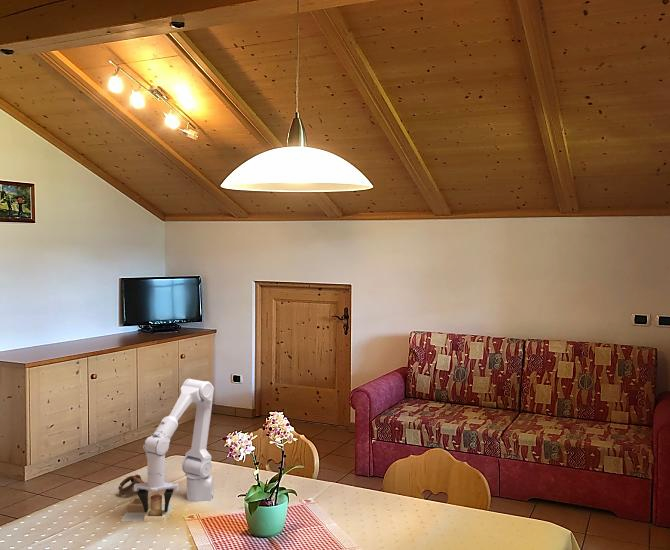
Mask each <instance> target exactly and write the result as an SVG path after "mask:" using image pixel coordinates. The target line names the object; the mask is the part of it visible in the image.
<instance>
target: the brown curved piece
mask: <svg viewBox="0 0 670 550" xmlns="http://www.w3.org/2000/svg"><path fill="white" fill-rule="evenodd" d="M128 482H130V484H129V485H127V486H125V485H126V484H127V483H128ZM138 483H145V482H144V481H143V479H142V477H141V475H140V474H135V475H129V476H127V477H126V478H124V479H123V480H122V481H121V482H120V483H119V486H118V487H117V488H118V490H119V491H118V493H119V494H118V495H119V496H127V495H129V494H130V495H133V490H134V485H135V484H138ZM124 486H125V487H124Z"/></svg>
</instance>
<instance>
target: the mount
mask: <svg viewBox="0 0 670 550" xmlns="http://www.w3.org/2000/svg"><path fill="white" fill-rule="evenodd" d="M174 507H175V504H173V503H169V506H168V511H167V512H165V511H164V509H165V503H164V504H163V503H162V516H151V496H150V497H149V496H148V511H147V512H144V507H143V504H142V502H141V500H140V498H139V496H138V497H132V498H131V499H130V501H129V503H128V504H127V511H125V513H124V515H123V516H122V518H121V519H120V522H167V520H168V518H169V516H170V514H171V512H172V510H173V508H174Z"/></svg>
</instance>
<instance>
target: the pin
mask: <svg viewBox="0 0 670 550" xmlns="http://www.w3.org/2000/svg"><path fill="white" fill-rule="evenodd" d="M150 497H151V516H162V504H163V503H162V502H163V501H162V497H163V496H162V494H158V493H157V494H156V493H155V494H151V495H150Z"/></svg>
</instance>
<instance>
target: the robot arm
mask: <svg viewBox="0 0 670 550" xmlns="http://www.w3.org/2000/svg"><path fill="white" fill-rule="evenodd" d="M214 391H215V387H214V386H213V384H212V382H210V381H207V380H205V381H204V380H199V379H193V378H187V379H185V380H184V382H183V383H182V385H181V387H180V395H179V396H178V398H177V401H176V402H175V404H174V406H173V408H172V409H171V411H170V413H169V414H168V416H164V417H163V418H162V420H161V421H160V423H159V424H158V425H157V427H156V429H155V430H154V432H153V434H152V435H150V436H148V437H147V438H146V439H145V440H144V444H143V450H144V452H145V457H146V459H147V461H146V462H147V463H146V464H147V478H146V479H147V481H146V482H144V483H138V484H135V485H134V489H133V492H138V493H137V496H138V497H139V498H140V500H141V502H142V504H143V507H144V512H147V511H148V497H149V491H151V492H156V491H164V493H163V496H164V504H165V509H164V511H165V512H167V511H168V506H169V504H170V501H171V498H172V496H173V493H174V492H178V491H179V483H173V482H167V481H166V453H167V452H168V450H169V448H170V442H171V439H172V437H173V435H174V433H175V431H176V430H177V429H178V427H179V423H178V421H179V420H180V418H181V417H182V415H183V414H185V411H186V410H187V409H188V407H189V406H190V405H191V404H192V403H193V404H196V408H195V409H196V411H195V419H194V425H193V433H192V439H191V447H190V449H189V450H188V451H187V452H185V453H184V454H185V455H184V459H183V461H182V464H181V469H182V472H183V473H184V474H185V475H184V476H185V477H186V500H187V501H188V502H196V503H197V502H212V499H213V497H214V476H212V475H211V472H212V470H213V464H212V455H211V453H209V451H208V450H207V448H208V447H207V446H208V439H209V431H210V426H211V425H210V424H211V416H212V411H213V410H212V409H213V407H212V406H213V399H214Z"/></svg>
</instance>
